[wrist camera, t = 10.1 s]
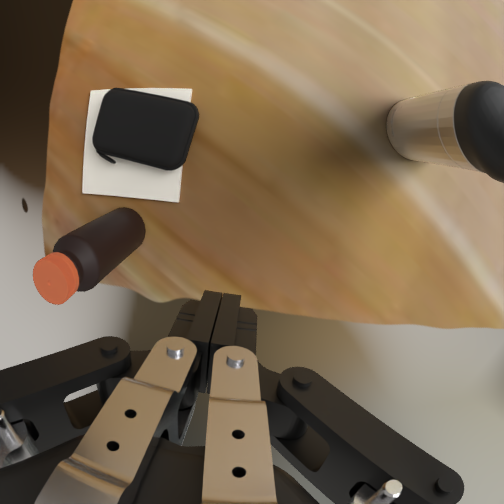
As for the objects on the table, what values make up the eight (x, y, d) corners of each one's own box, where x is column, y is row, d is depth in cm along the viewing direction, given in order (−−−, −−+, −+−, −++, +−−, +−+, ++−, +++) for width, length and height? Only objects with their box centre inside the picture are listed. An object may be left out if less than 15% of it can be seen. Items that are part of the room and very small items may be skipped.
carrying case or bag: (176, 183, 38) (83, 157, 37) (182, 180, 41) (93, 156, 40) (200, 103, 35) (102, 84, 33) (205, 106, 37) (112, 87, 36)
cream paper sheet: (192, 89, 37) (191, 88, 37) (179, 201, 42) (178, 202, 42) (92, 91, 37) (91, 90, 36) (84, 192, 42) (82, 193, 42)
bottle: (100, 230, 44) (19, 282, 25) (121, 197, 42) (37, 235, 23) (131, 258, 46) (63, 325, 27) (154, 226, 44) (86, 282, 25)
